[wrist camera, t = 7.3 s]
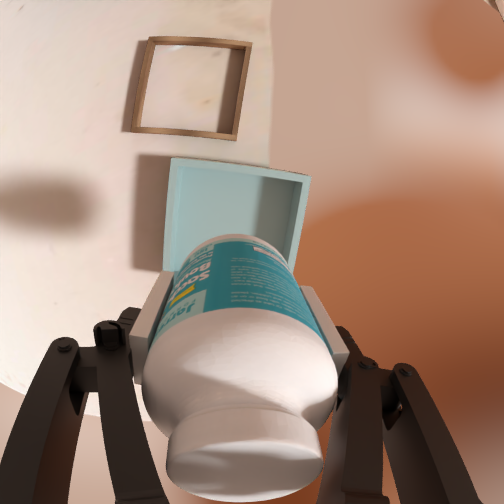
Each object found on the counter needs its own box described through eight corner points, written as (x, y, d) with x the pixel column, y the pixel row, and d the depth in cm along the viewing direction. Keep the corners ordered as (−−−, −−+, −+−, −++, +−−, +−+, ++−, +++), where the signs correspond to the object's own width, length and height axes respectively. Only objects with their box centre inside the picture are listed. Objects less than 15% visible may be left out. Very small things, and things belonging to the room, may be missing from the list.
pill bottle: (194, 215, 18) (121, 366, 5) (306, 249, 19) (420, 407, 6) (168, 316, 20) (120, 494, 7) (267, 342, 21) (303, 514, 8)
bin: (168, 273, 37) (162, 288, 33) (178, 157, 32) (171, 157, 28) (280, 285, 38) (286, 301, 34) (301, 173, 34) (311, 176, 30)
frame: (134, 132, 31) (130, 132, 29) (152, 40, 27) (149, 36, 25) (236, 141, 32) (236, 140, 31) (251, 46, 28) (252, 42, 27)
